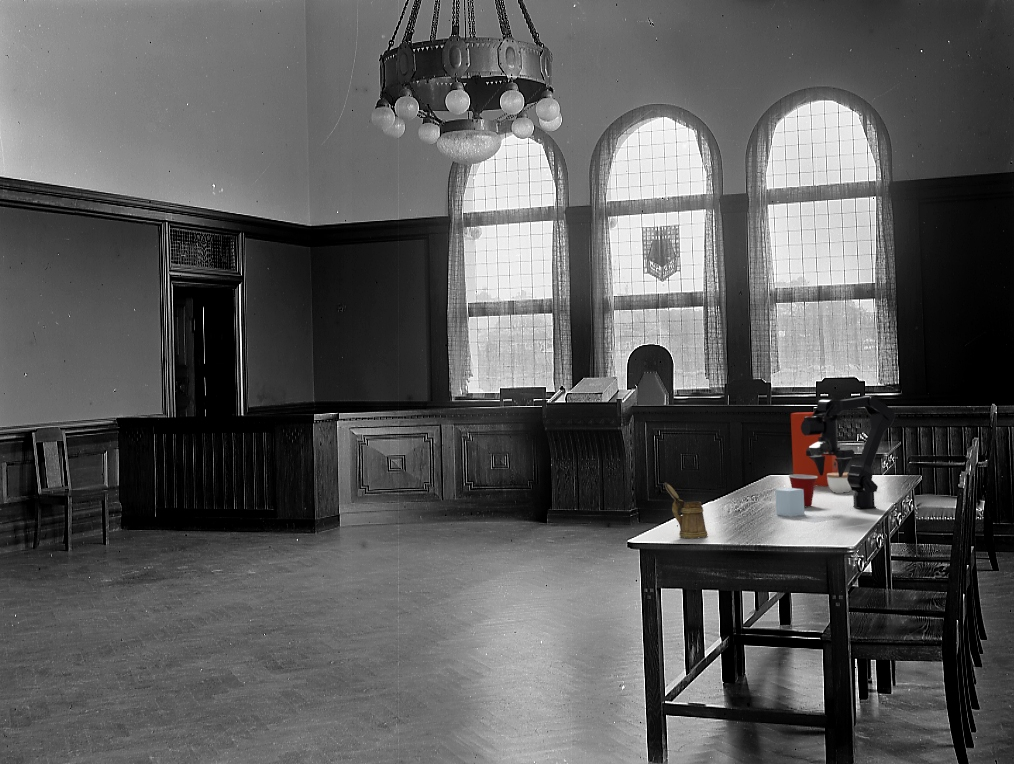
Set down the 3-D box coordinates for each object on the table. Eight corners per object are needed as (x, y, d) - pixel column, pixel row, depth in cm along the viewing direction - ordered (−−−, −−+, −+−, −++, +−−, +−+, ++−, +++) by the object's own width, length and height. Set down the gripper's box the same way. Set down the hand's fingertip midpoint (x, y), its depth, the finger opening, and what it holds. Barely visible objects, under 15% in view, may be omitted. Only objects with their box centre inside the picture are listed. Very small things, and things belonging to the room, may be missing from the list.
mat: (813, 516, 391) (813, 515, 391) (839, 519, 380) (839, 518, 380) (789, 520, 385) (789, 518, 385) (814, 523, 374) (814, 522, 374)
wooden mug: (669, 534, 368) (667, 480, 368) (709, 534, 363) (707, 480, 363) (663, 538, 360) (661, 484, 359) (704, 538, 355) (702, 483, 354)
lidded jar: (826, 493, 450) (825, 471, 450) (829, 490, 460) (828, 468, 459) (853, 493, 446) (852, 471, 445) (855, 490, 456) (854, 468, 455)
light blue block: (790, 513, 400) (789, 487, 400) (804, 515, 394) (803, 489, 394) (776, 515, 396) (775, 489, 396) (790, 517, 390) (789, 491, 390)
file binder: (799, 483, 489) (796, 412, 488) (838, 484, 479) (835, 411, 479) (793, 485, 482) (790, 413, 481) (832, 486, 472) (829, 412, 472)
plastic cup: (820, 507, 411) (818, 476, 411) (790, 508, 413) (789, 476, 413) (817, 504, 421) (816, 473, 421) (788, 504, 424) (787, 473, 423)
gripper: (794, 434, 403) (796, 476, 403) (832, 436, 387) (834, 480, 387) (816, 432, 409) (817, 473, 409) (854, 433, 393) (856, 477, 393)
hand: (830, 476), depth 399 cm, fingers open, 9 cm apart
